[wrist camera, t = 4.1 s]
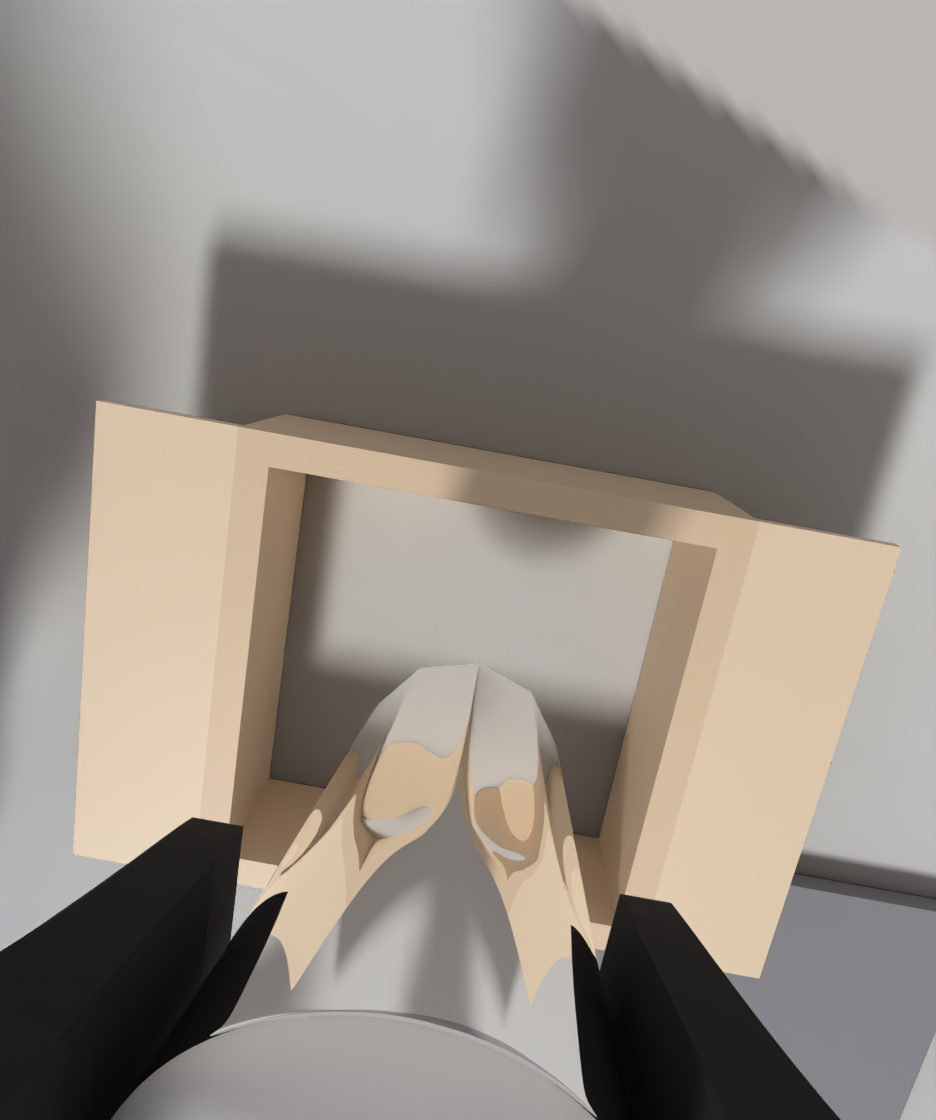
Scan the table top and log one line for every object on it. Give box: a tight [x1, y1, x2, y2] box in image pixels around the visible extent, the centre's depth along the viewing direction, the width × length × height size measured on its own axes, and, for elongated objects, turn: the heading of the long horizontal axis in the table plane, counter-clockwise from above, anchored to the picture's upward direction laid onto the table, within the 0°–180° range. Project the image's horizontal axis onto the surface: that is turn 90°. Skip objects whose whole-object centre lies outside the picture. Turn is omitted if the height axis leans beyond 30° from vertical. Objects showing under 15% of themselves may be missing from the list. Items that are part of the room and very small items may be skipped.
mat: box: [595, 874, 936, 1120], centre depth 20 cm, size 12×12×1 cm
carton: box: [73, 400, 902, 978], centre depth 16 cm, size 9×14×3 cm, turn 80°
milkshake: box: [111, 663, 633, 1120], centre depth 9 cm, size 5×5×10 cm
